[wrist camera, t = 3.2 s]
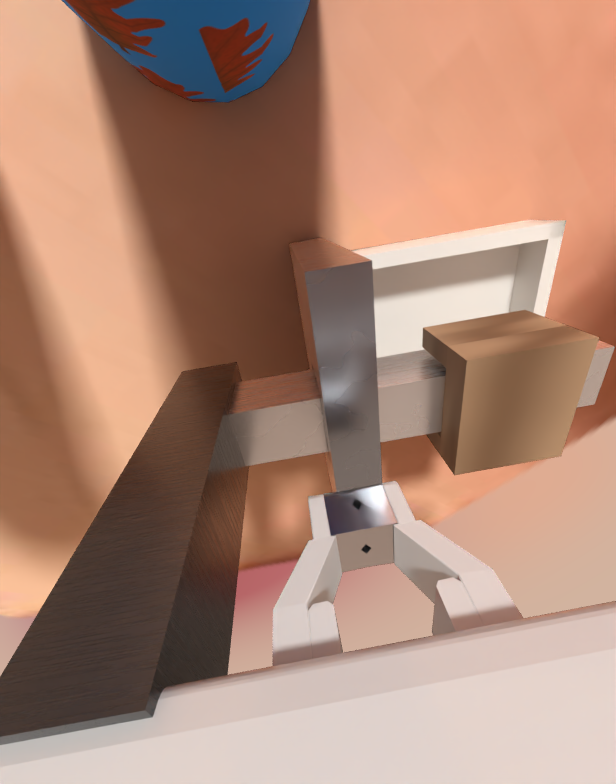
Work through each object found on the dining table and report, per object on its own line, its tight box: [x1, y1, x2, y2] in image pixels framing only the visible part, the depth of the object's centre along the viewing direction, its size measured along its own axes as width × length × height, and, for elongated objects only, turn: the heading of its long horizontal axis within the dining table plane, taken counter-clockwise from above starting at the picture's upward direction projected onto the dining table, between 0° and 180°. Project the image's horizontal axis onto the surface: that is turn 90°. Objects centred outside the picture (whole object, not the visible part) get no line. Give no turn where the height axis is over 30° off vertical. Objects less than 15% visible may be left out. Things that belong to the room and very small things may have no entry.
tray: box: [351, 220, 566, 358], centre depth 21 cm, size 13×12×3 cm
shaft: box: [0, 340, 615, 745], centre depth 12 cm, size 20×4×14 cm, turn 99°
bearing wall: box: [289, 238, 382, 492], centre depth 18 cm, size 2×14×12 cm, turn 9°
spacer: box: [422, 310, 599, 475], centre depth 15 cm, size 5×6×4 cm
